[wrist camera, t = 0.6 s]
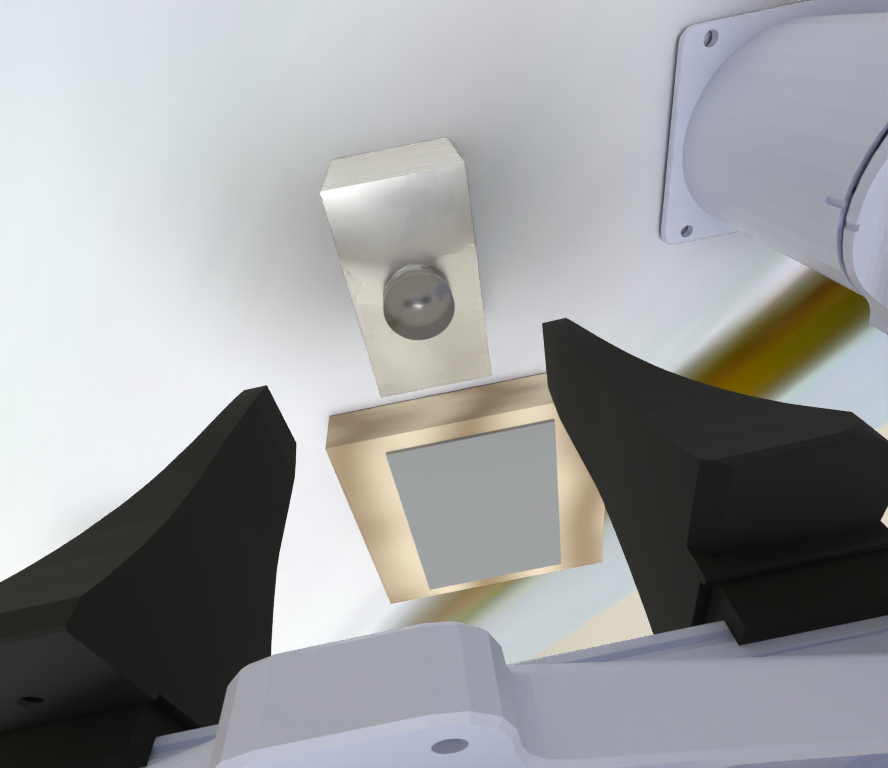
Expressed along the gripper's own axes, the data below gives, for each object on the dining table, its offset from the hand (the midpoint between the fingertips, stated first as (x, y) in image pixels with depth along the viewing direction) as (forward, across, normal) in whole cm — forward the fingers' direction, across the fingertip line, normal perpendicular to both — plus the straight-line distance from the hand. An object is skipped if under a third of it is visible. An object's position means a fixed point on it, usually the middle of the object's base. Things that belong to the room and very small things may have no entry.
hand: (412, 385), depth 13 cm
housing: (+10, 0, 0) cm, 11 cm away
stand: (+10, -1, +15) cm, 18 cm away
